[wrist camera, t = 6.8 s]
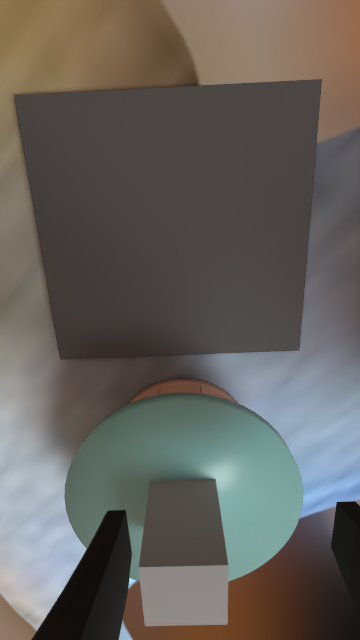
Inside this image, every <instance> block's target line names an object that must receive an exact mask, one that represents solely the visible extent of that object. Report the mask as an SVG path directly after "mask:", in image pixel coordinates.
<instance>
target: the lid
mask: <svg viewBox="0 0 360 640" xmlns="http://www.w3.org/2000/svg"><path fill="white" fill-rule="evenodd" d="M65 505H66V511H67V514H68V518H69V521H70V523H71V525H72V528H73V530H74V532H75V533H76V535H77V537H78V538H79V540H80V541H81V543H82V544H83V545H84V546H85V547H86V548H88V546H89V544H90V543H91V541H92V539H93V537H94V535H95V533H96V531H97V529H98V527H99V525H100V524H101V522H102V520H103V517H104V515H105V513H106V512H107V511H110V510H126V515H127V522H128V529H129V536H130V543H131V550H132V558H131V567H130V576H129V578H132V579H134V580H138V581H140V585H141V594H142V603H143V612H144V621H145V626H170V625H171V626H173V625H218V624H219V625H221V624H227V621H228V618H227V617H228V581H230V580H233V579H236V578H239V577H241V576H243V575H245V574H247V573H249V572H251V571H253V570H255V569H256V568H258V567H260V566H261V565H263V564H264V563H265V562H267V561H268V560H269V559H271V558H272V557H273V556H274V555H275V554H276V553H277V552H278V551H279V550H280V549H281V548H282V547H283V546H284V545H285V543H286V542H287V541H288V539H289V538H290V537H291V535H292V533H293V531H294V529H295V527H296V525H297V523H298V520H299V517H300V515H301V510H302V505H303V485H302V478H301V475H300V472H299V469H298V466H297V464H296V462H295V460H294V458H293V456H292V454H291V452H290V450H289V448H288V446H287V445H286V443H285V441H284V440H283V439H282V437H281V436H280V434H279V433H278V432H277V431H276V430H275V429H274V428H273V427H272V426H271V425H270V424H269V423H268V422H267V421H266V420H265V419H263V418H262V417H261V416H259V415H258V414H257V413H255V412H253V411H251V410H250V409H248V408H246V407H244V406H243V405H240V404H238V403H235V402H233V401H230V400H228V399H224V398H220V397H216V396H213V395H206V394H199V393H169V394H161V395H156V396H151V397H147V398H144V399H141V400H138V401H135V402H132V403H130V404H128V405H126V406H124V407H122V408H120V409H118V410H116V411H115V412H113V413H112V414H110V415H109V416H107V417H105V418H104V419H103V420H102V421H101V422H100V423H99V424H97V425H96V426H95V427H94V428H93V429H92V431H91V432H90V433H89V434H88V435H87V437H86V438H85V439H84V441H83V443H82V444H81V446H80V447H79V449H78V451H77V453H76V455H75V457H74V459H73V462H72V464H71V466H70V469H69V471H68V475H67V479H66V484H65Z"/></svg>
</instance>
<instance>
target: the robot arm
mask: <svg viewBox="0 0 360 640" xmlns="http://www.w3.org/2000/svg"><path fill="white" fill-rule="evenodd" d="M331 548H332V550H333V553H334V556H335V558H336V561H337V563H338V566H339V568H340V571H341V573H342V576H343V578H344V581H345V583H346V586H347V588H348V590H349V592H350V594H351V596H352V598H353V600H354V602H355V604H356V606H357V608H358V610H359V613H360V506H359V505H358V504H357V503H356V502H355V501H353V502H337V505H336V512H335V520H334V528H333V536H332V543H331ZM131 558H132V550H131V543H130V536H129V529H128V522H127V515H126V510H110V511H107V512H106V513H105V515H104V517H103V520H102V522H101V524H100V525H99V527H98V529H97V531H96V533H95V535H94V537H93V539H92V541H91V543H90V544H89V546H88V548H87V550H86V552H85V554H84V555H83V557H82V559H81V561H80V562H79V564H78V566H77V567H76V569H75V571H74V573H73V574H72V576H71V578H70V579H69V581H68V583H67V585H66V586H65V588H64V590H63V591H62V593H61V594H60V596H59V598H58V599H57V601H56V602H55V604H54V606H53V607H52V609H51V610H50V612H49V613H48V615H47V617H46V618H45V620H44V621H43V623H42V624H41V626H40V628H39V629H38V631H37V632H36V634H35V635H34V637H33V638H32V640H119V634H120V629H121V624H122V619H123V614H124V609H125V603H126V598H127V593H128V585H129V576H130V567H131Z"/></svg>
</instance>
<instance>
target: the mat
mask: <svg viewBox="0 0 360 640" xmlns="http://www.w3.org/2000/svg"><path fill="white" fill-rule="evenodd" d="M321 82H322V80H321V79H320V80H300V81H280V82H261V83H242V84H224V85H223V84H221V85H204V86H203V85H202V86H182V87H163V88H143V89H124V90H104V91H85V92H65V93H46V94H26V95H14V97H15V103H16V108H17V114H18V120H19V125H20V131H21V137H22V143H23V148H24V154H25V160H26V165H27V171H28V177H29V183H30V188H31V194H32V200H33V206H34V211H35V217H36V223H37V228H38V234H39V240H40V246H41V251H42V257H43V263H44V269H45V274H46V280H47V286H48V291H49V297H50V303H51V309H52V314H53V320H54V326H55V332H56V337H57V343H58V349H59V354H60V359H83V358H109V357H136V356H163V355H189V354H216V353H243V352H269V351H296V350H299V347H300V335H301V323H302V311H303V299H304V287H305V275H306V263H307V251H308V239H309V227H310V215H311V203H312V191H313V179H314V167H315V155H316V143H317V131H318V119H319V106H320V95H321Z"/></svg>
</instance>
